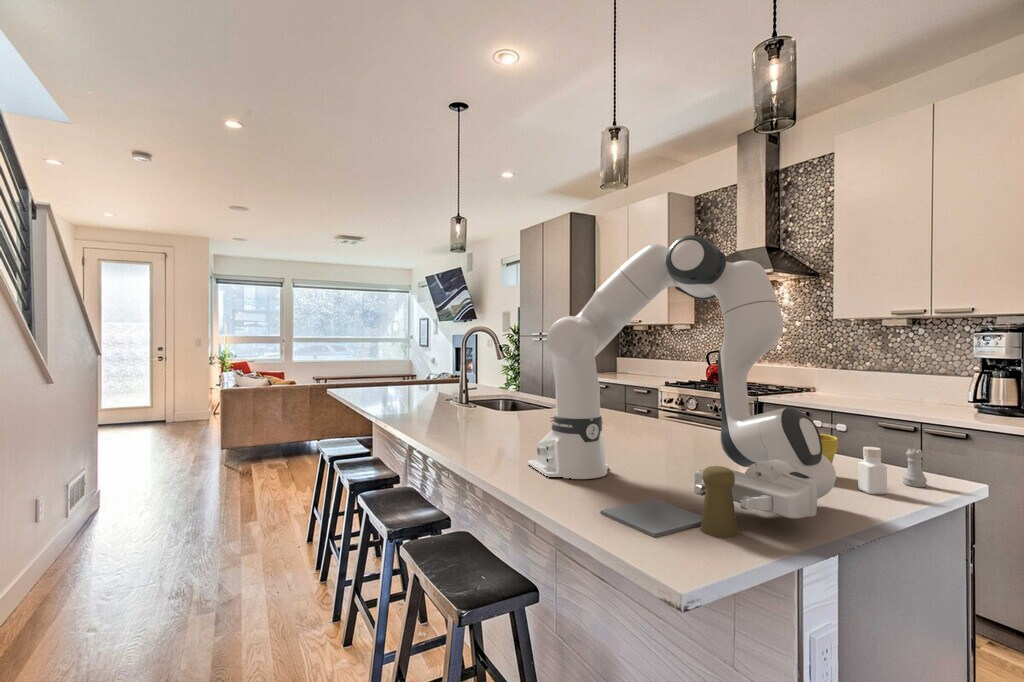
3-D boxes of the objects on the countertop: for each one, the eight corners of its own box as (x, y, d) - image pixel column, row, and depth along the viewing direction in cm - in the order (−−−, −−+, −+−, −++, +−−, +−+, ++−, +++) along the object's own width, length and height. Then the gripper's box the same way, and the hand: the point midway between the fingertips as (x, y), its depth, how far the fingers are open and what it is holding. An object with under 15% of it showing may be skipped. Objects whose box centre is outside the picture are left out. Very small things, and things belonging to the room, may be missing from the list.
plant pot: (838, 484, 117) (838, 441, 117) (787, 478, 122) (786, 437, 122) (837, 474, 126) (837, 434, 126) (789, 469, 131) (789, 430, 131)
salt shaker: (888, 494, 109) (888, 449, 109) (869, 495, 109) (869, 450, 109) (875, 489, 113) (874, 446, 113) (857, 489, 113) (856, 446, 113)
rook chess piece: (900, 485, 116) (900, 449, 116) (905, 481, 119) (904, 446, 119) (925, 489, 113) (925, 452, 113) (929, 485, 116) (929, 449, 116)
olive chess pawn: (694, 525, 92) (694, 463, 92) (727, 524, 92) (726, 462, 92) (709, 538, 86) (709, 472, 86) (745, 537, 86) (744, 471, 86)
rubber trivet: (600, 513, 98) (600, 510, 98) (654, 501, 105) (654, 498, 105) (654, 537, 86) (654, 533, 86) (711, 522, 93) (711, 519, 93)
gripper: (722, 457, 104) (673, 466, 97) (825, 481, 86) (774, 493, 80) (722, 488, 104) (673, 499, 97) (825, 518, 86) (774, 534, 80)
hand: (719, 497), depth 88 cm, fingers open, 8 cm apart
